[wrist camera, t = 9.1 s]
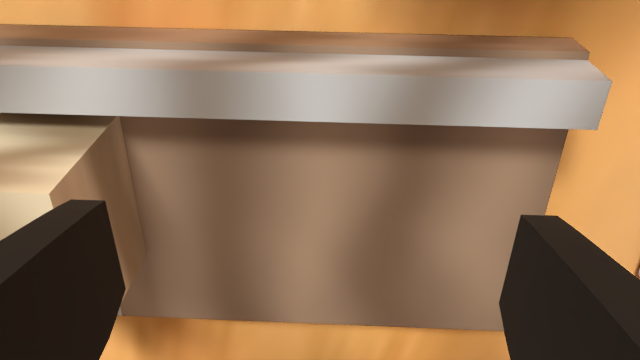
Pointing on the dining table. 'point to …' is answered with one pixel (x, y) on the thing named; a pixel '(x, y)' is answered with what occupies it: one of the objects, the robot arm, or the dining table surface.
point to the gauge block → (69, 175)
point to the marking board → (319, 161)
